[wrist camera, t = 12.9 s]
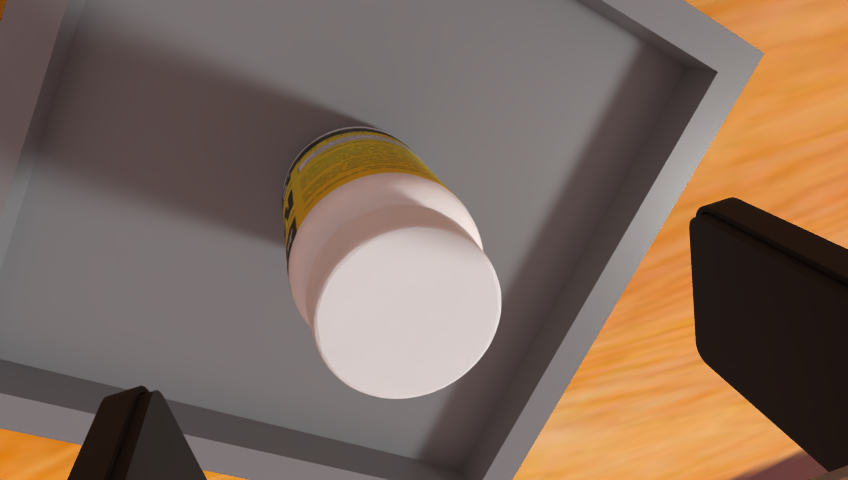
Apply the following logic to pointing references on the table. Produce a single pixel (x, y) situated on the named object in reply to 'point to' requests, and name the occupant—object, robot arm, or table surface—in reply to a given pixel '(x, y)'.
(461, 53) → the serving tray
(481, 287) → the supplement bottle
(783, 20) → the table surface
